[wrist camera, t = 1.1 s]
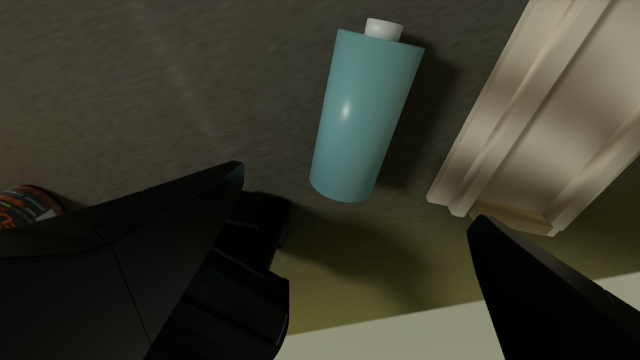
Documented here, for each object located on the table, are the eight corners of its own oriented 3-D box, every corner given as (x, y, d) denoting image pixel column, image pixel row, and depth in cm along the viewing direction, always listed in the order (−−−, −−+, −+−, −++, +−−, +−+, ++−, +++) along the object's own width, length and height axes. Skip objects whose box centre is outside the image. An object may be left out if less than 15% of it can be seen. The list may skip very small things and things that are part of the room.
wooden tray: (555, 224, 22) (578, 246, 20) (425, 196, 22) (434, 215, 20) (807, -35, 12) (905, -48, 10) (576, -88, 12) (625, -113, 10)
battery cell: (368, 172, 22) (374, 208, 17) (313, 161, 21) (305, 194, 17) (418, 31, 16) (445, 32, 11) (341, 13, 16) (340, 9, 11)
